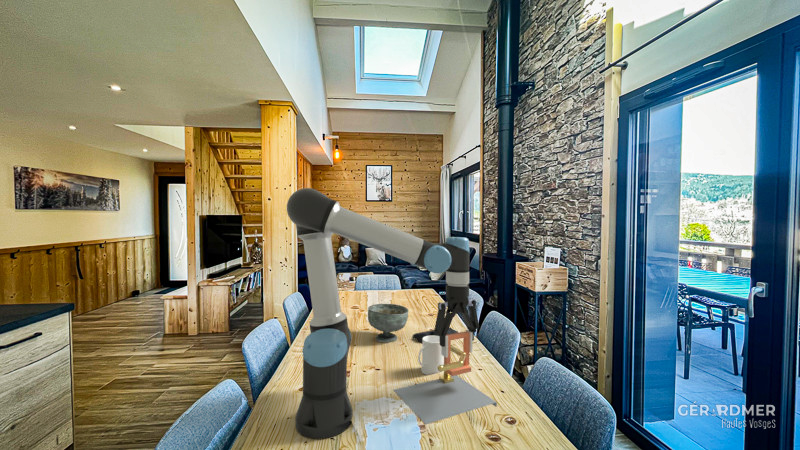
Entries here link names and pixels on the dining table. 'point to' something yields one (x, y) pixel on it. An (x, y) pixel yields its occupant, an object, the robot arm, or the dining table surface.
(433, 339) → the mug
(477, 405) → the board
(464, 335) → the orange rectangular frame
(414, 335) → the dark slate chunk
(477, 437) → the dining table surface
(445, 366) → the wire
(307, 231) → the robot arm
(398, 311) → the bowl
